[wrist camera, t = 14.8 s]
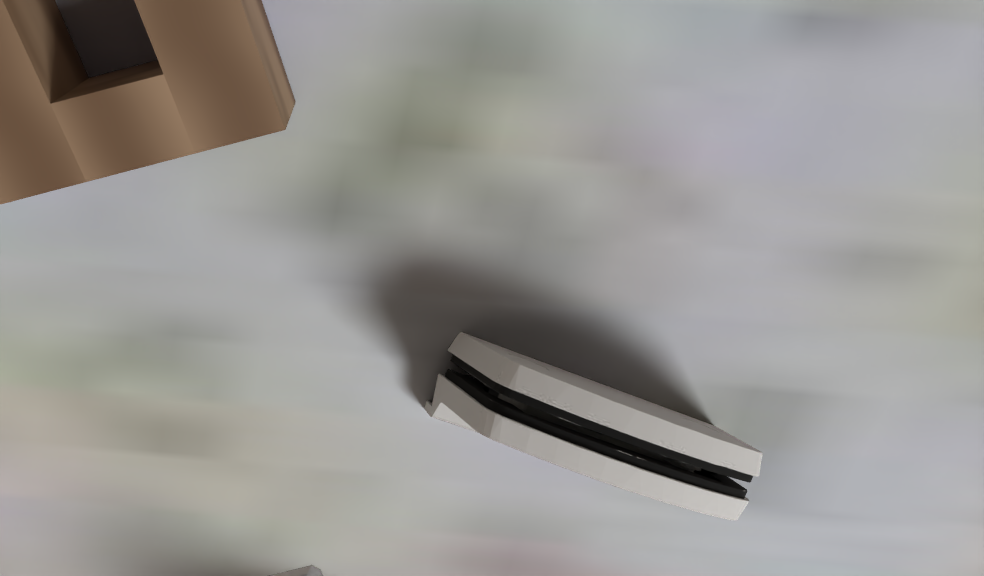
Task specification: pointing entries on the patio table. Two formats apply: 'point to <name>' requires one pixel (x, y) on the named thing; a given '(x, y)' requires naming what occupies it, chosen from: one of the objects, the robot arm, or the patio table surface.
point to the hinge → (594, 429)
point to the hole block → (133, 92)
